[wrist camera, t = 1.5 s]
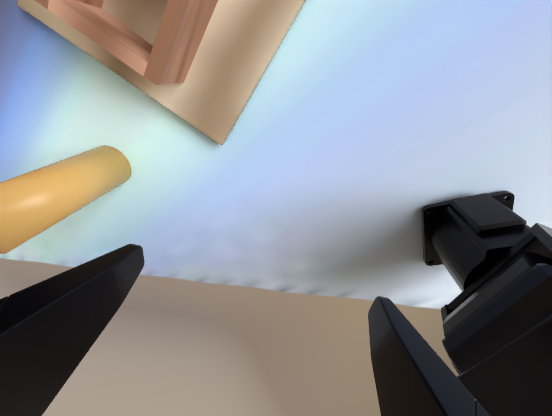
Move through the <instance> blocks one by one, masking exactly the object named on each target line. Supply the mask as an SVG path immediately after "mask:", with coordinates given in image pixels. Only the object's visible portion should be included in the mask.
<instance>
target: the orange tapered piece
mask: <svg viewBox="0 0 552 416" xmlns="http://www.w3.org/2000/svg"><path fill="white" fill-rule="evenodd" d="M130 176H131V167H130V164H129V162H128V160H127V158H126V157H125V156H124V155H123V154H122V153H121V152H120V151H119V150H117V149H115V148H113V147H110V146H100V147H97V148H95V149H92V150H89V151H86V152H84V153H81V154H78V155H75V156H73V157H70V158H67V159H64V160H62V161H59V162H56V163H53V164H51V165H48V166H45V167H42V168H39V169H37V170H34V171H31V172H28V173H26V174H23V175H20V176H17V177H15V178H12V179H9V180H6V181H4V182H1V183H0V254H5V253H7V252H9V251H11V250H12V249H14V248H16V247H17V246H19V245H21V244H22V243H24V242H26V241H27V240H29V239H31V238H32V237H34V236H36V235H37V234H39V233H41V232H42V231H44V230H46V229H47V228H49V227H51V226H52V225H54V224H56V223H57V222H59V221H61V220H62V219H64V218H66V217H67V216H69V215H71V214H72V213H74V212H76V211H77V210H79V209H81V208H82V207H84V206H86V205H87V204H89V203H91V202H92V201H94V200H96V199H97V198H99V197H101V196H102V195H104V194H106V193H107V192H109V191H111V190H112V189H114V188H116V187H117V186H119V185H121V184H122V183H124V182H126V181H127V180H128V179H129V178H130Z"/></svg>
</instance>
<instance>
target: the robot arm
mask: <svg viewBox="0 0 552 416" xmlns="http://www.w3.org/2000/svg"><path fill="white" fill-rule="evenodd" d="M505 196H507V197H506V198H505V199H503V198H504V197H505ZM513 204H514V195H513V194H512V193H511V192H509V191H501V192H496V193H491V194H480V195H475V196H470V197H465V198H459V199H454V200H451V201H448V202H443V203H437V204H432V205H427V206H425V207H423V209H422V211H421V213H422V234H423V256H424V262H425V263H426V264H427V265H429V266H432V265H440V264H444V266H445V267H446V269H447V270H448V272H449V273H450V274H451V276H452V277H453V279H454V280H455V282H456V283H457V285H458V286H459V288H460V289H461V291H462V293H461V294H459V295H458V296H457V297H456V298H455V299H454V300H453V301H452V302H451V303H449V304H448V305H445V306H444V307H443V308H441V314H442V320H443V329H444V336H445V338H444V339H443V340H442V342H443V346H444V348H445V350H446V352H447V354H448V356H449V358H450V360H451V361H452V364H453V366H454V367H455V369H456V370H457V372H458V373H459V376H457V377H456V376H455V375H454V373H453V372H452V371H451V370H450V369H449V368H448V366H447V365H446V364H445V363H444V362H443V361H442V359H441V358H440V357H439V356H438V355H437V354H436V352H435V351H434V350H433V349H432V348H431V347H430V346H429V345H428V343H427V342H426V341H425V340H424V339H423V337H422V336H421V335H420V334H419V333H418V332H417V330H416V329H415V328H414V327H413V326H412V324H411V323H410V322H409V321H408V320H407V319H406V317H404V315H403V314H402V313H401V312H400V311H399V309H397V307H396V306H395V305H394V304H393V302H392V301H391V300H390V299H388V298H385V297H380V296H378V297H376V299H375V300H374V302H373V304H372V306H371V308H370V309H369V313H368V320H369V334H370V348H371V360H372V366H373V372H374V378H375V383H376V389H377V395H378V400H379V406H380V412H381V416H552V228H549V227H546V226H544V225H541V224H539V223H536V224H535V225H534V226H532V227H531V228H530V227H529V226H528V225H526V220H524V219H523V218H522V217H520V216H519V215H517V214H516V213H514V212H513ZM429 210H431V211H430V212H429V213H427V211H429ZM429 260H431V261H429ZM143 266H144V256H143V249H142V247H141V246H140V245H135V244H128V245H126V246H123V247H121V248H119V249H116V250H114V251H112V252H109V253H107V254H105V255H102V256H100V257H98V258H95V259H93V260H91V261H88V262H86V263H84V264H81V265H79V266H77V267H74V268H72V269H70V270H67V271H65V272H63V273H60V274H58V275H56V276H54V277H51V278H49V279H47V280H44V281H42V282H40V283H37V284H35V285H32V286H30V287H28V288H25V289H23V290H21V291H18V292H16V293H14V294H12V295H10V296H9V297H4V298H2V299H0V416H42V414H43V413H44V412H45V410H46V409H47V408H48V406H49V405H50V403H51V402H52V401H53V399H54V398H55V396H56V395H57V394H58V392H59V391H60V389H61V388H62V387H63V385H64V384H65V383H66V381H67V380H68V378H69V377H70V376H71V374H72V373H73V371H74V370H75V369H76V367H77V366H78V364H79V363H80V362H81V360H82V359H83V358H84V356H85V355H86V353H87V352H88V351H89V349H90V348H91V346H92V345H93V344H94V342H95V341H96V339H97V338H98V337H99V335H100V334H101V332H102V331H103V330H104V328H105V327H106V325H107V324H108V323H109V321H110V320H111V319H112V317H113V316H114V314H115V313H116V312H117V310H118V309H119V307H120V306H121V304H122V303H123V301H124V300H125V298H126V296H127V295H128V293H129V291H130V289H131V288H132V286H133V284H134V282H135V280H136V279H137V277H138V275H139V274H140V272H141V270H142V269H143ZM475 399H476V400H477V401H476V400H475Z"/></svg>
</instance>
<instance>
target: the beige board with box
mask: <svg viewBox="0 0 552 416" xmlns="http://www.w3.org/2000/svg"><path fill="white" fill-rule="evenodd" d="M305 1H306V0H18V6H19V7H21V8H22V9H24V10H25V11H27V12H28V13H29V14H31V15H32V16H34V17H35V18H37V19H38V20H40V21H41V22H43V23H44V24H45V25H47V26H48V27H50V28H51V29H53V30H54V31H56V32H57V33H59V34H60V35H62V36H63V37H64V38H66V39H67V40H69V41H70V42H72V43H73V44H75V45H76V46H78V47H79V48H80V49H82V50H83V51H85V52H86V53H88V54H89V55H91V56H92V57H94V58H95V59H96V60H98V61H99V62H101V63H102V64H104V65H105V66H107V67H108V68H110V69H111V70H112V71H114V72H115V73H117V74H118V75H120V76H121V77H123V78H124V79H126V80H127V81H128V82H130V83H131V84H133V85H134V86H136V87H137V88H139V89H140V90H142V91H143V92H144V93H146V94H147V95H149V96H150V97H152V98H153V99H155V100H156V101H158V102H159V103H161V104H162V105H163V106H165V107H166V108H168V109H169V110H171V111H172V112H174V113H175V114H177V115H178V116H179V117H181V118H182V119H184V120H185V121H187V122H188V123H190V124H191V125H193V126H194V127H195V128H197V129H198V130H200V131H201V132H203V133H204V134H206V135H207V136H209V137H210V138H211V139H213V140H214V141H216V142H217V143H219V144H220V145H222V144H223V143H224V142H225V141H226V139H227V137H228V135H229V134H230V132H231V130H232V128H233V127H234V125H235V123H236V121H237V120H238V118H239V116H240V114H241V113H242V111H243V109H244V107H245V106H246V104H247V102H248V100H249V99H250V97H251V95H252V93H253V92H254V90H255V88H256V86H257V85H258V83H259V81H260V80H261V78H262V76H263V74H264V73H265V71H266V69H267V67H268V66H269V64H270V62H271V60H272V59H273V57H274V55H275V53H276V52H277V50H278V48H279V46H280V45H281V43H282V41H283V39H284V38H285V36H286V34H287V32H288V31H289V29H290V27H291V25H292V24H293V22H294V20H295V18H296V17H297V15H298V13H299V11H300V10H301V8H302V6H303V4H304V3H305Z"/></svg>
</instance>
